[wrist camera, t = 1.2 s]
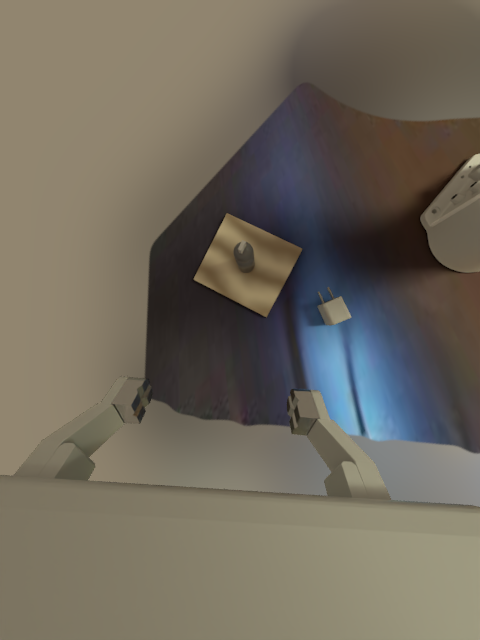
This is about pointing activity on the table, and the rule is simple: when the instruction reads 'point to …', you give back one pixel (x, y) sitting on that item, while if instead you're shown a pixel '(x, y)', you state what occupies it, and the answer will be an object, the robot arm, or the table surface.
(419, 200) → the table surface
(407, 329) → the table surface
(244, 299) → the birch board
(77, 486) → the robot arm
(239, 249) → the dark bottle
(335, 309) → the usb wall charger
